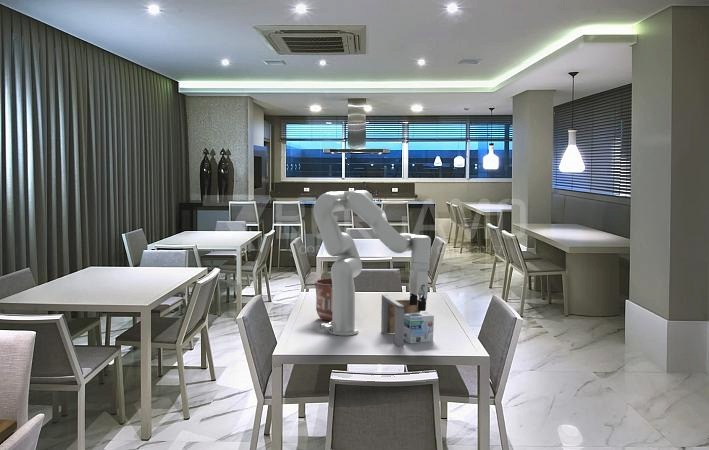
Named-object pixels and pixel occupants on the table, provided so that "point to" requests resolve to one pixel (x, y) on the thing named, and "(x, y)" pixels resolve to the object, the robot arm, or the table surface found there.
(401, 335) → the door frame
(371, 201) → the robot arm
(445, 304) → the table surface
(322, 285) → the pottery
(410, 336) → the light bulb box
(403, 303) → the door
